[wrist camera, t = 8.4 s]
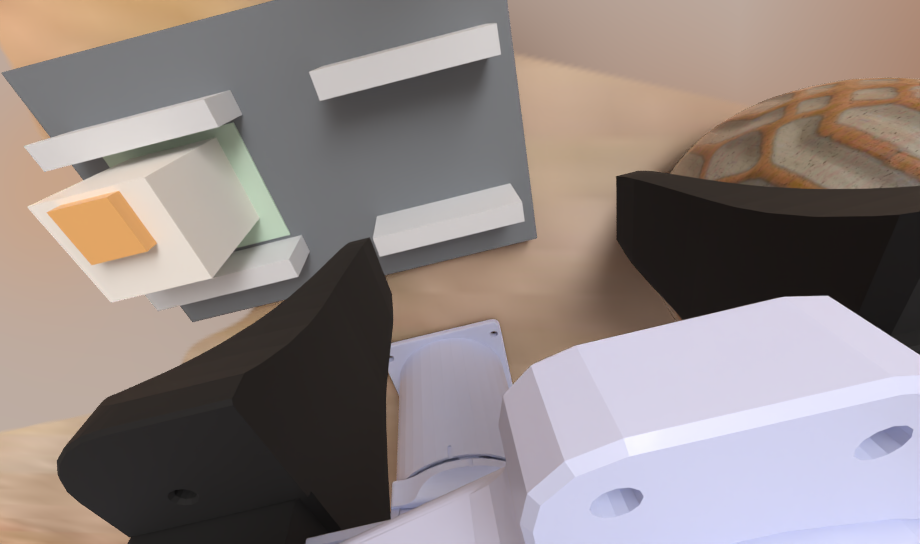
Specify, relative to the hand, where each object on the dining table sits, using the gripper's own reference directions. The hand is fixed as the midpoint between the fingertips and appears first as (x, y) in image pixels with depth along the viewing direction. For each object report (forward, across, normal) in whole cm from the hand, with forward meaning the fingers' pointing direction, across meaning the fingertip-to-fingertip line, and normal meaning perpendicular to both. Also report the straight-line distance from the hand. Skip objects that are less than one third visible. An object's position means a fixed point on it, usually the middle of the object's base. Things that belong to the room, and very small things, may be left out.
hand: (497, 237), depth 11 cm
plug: (+9, +12, -1) cm, 15 cm away
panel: (+10, +7, -1) cm, 12 cm away
